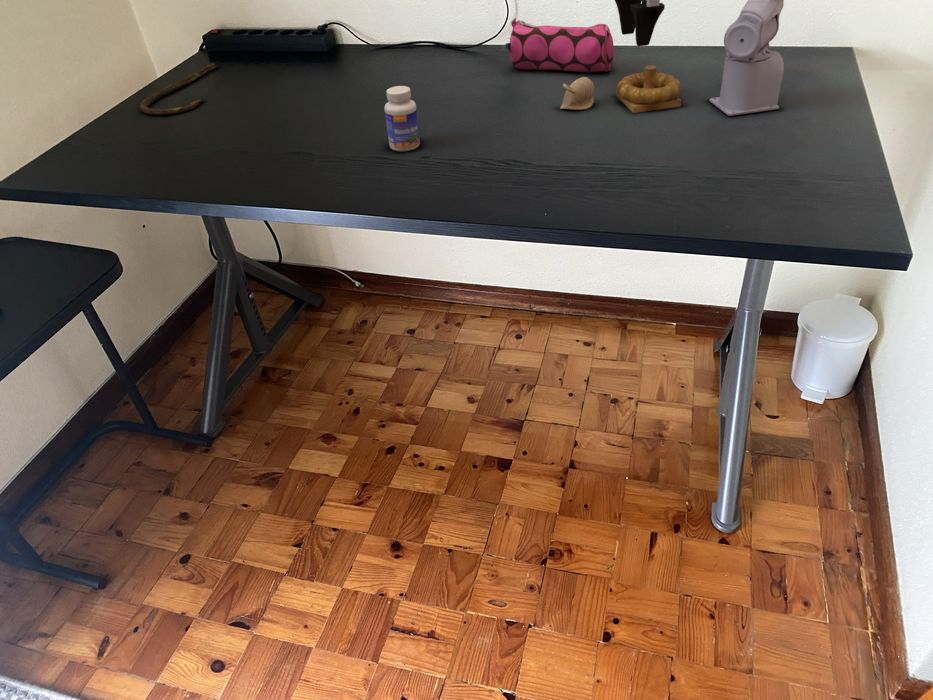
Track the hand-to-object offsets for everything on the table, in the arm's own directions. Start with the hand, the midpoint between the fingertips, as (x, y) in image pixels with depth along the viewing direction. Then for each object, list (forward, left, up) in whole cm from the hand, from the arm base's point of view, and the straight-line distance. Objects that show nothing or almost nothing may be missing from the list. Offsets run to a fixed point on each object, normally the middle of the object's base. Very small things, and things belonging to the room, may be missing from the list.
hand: (635, 39), depth 135 cm
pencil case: (+9, -16, -9) cm, 21 cm away
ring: (-1, +7, -7) cm, 10 cm away
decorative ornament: (+12, +5, -10) cm, 16 cm away
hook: (+86, -33, -9) cm, 93 cm away
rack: (-1, +7, -9) cm, 12 cm away
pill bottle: (+45, +12, -9) cm, 48 cm away
